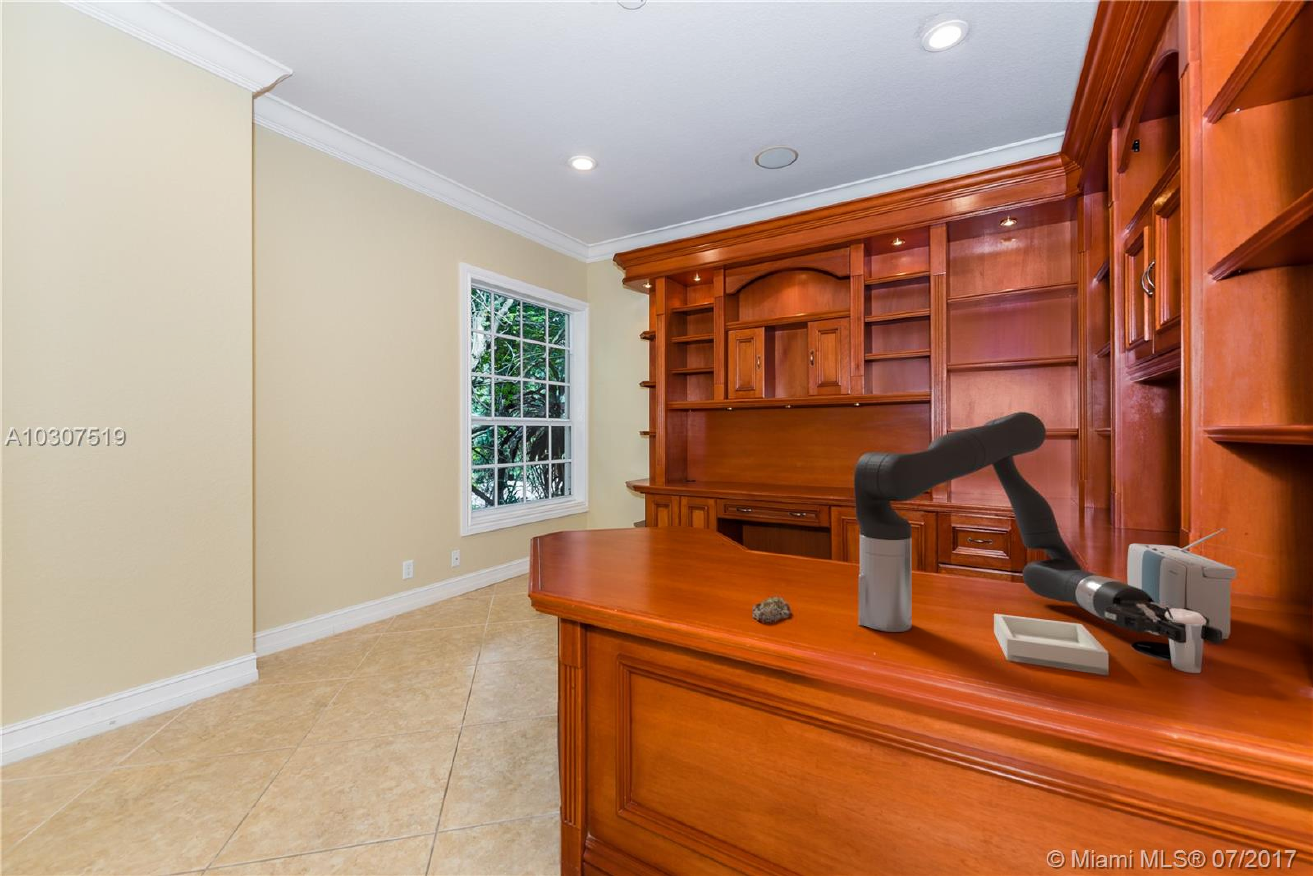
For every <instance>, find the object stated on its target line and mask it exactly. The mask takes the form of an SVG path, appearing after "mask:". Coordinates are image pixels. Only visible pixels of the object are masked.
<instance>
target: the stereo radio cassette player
mask: <svg viewBox="0 0 1313 876" xmlns="http://www.w3.org/2000/svg"><path fill="white" fill-rule="evenodd" d="M1224 531H1226V528H1225V527H1222V528H1220V530H1218V531H1216V532H1213V533H1211V534H1209V535H1207V536H1205V537H1203V538H1201V539H1198V540H1196V541H1195V542H1193V543H1191V544H1188V545H1187V546H1184V547H1183V548H1181V547H1178V546H1175V545H1167V544H1166V545H1164V544H1162V545H1161V544H1146V543H1131V544H1129V546H1128V549H1127V550H1128V551H1127V563H1126V564H1127V565H1126V566H1127V567H1126V570H1127V572H1126V574H1127V576H1126V577H1127V584H1128V585H1130V586H1133V587H1136V588H1139V589H1141V590H1143V591H1145V592H1146V593H1148V594H1149V595H1150V597H1151V598H1152V599H1153V601H1154V602H1155V603H1159V604H1162V605H1164V606H1165V607H1169V608H1171V609H1172V608H1175V609H1182V608H1189V609H1192V610H1193V611H1195V612H1197V613H1199V614H1201V615H1203V616H1205V617H1207V618H1209V619H1210V622H1209V626H1212V627H1214V628H1217V629H1220V630H1221V631H1222V640H1225V639H1226V640H1227V639H1229V637H1230V634H1231V593H1232V592H1231V589H1232V588H1231V587H1232V586H1231V585H1232V583H1231V582H1232V581H1231V580H1232V579H1237V575H1238V573H1237V569H1236V568H1234V567H1232V566H1229V565H1227V564H1224V563H1221V562H1218V561H1217V560H1214V559H1210V558H1208V557H1205V556H1202V555H1199V554H1197V553H1193V552H1191V551H1189V550H1188V549H1190V548H1192V547H1194V546H1196V545H1199V544H1200V543H1202V542H1204V541H1206V540H1208V539H1210V538H1212V537H1214V536H1215V535H1217V534H1219V533H1220V532H1224Z"/></svg>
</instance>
